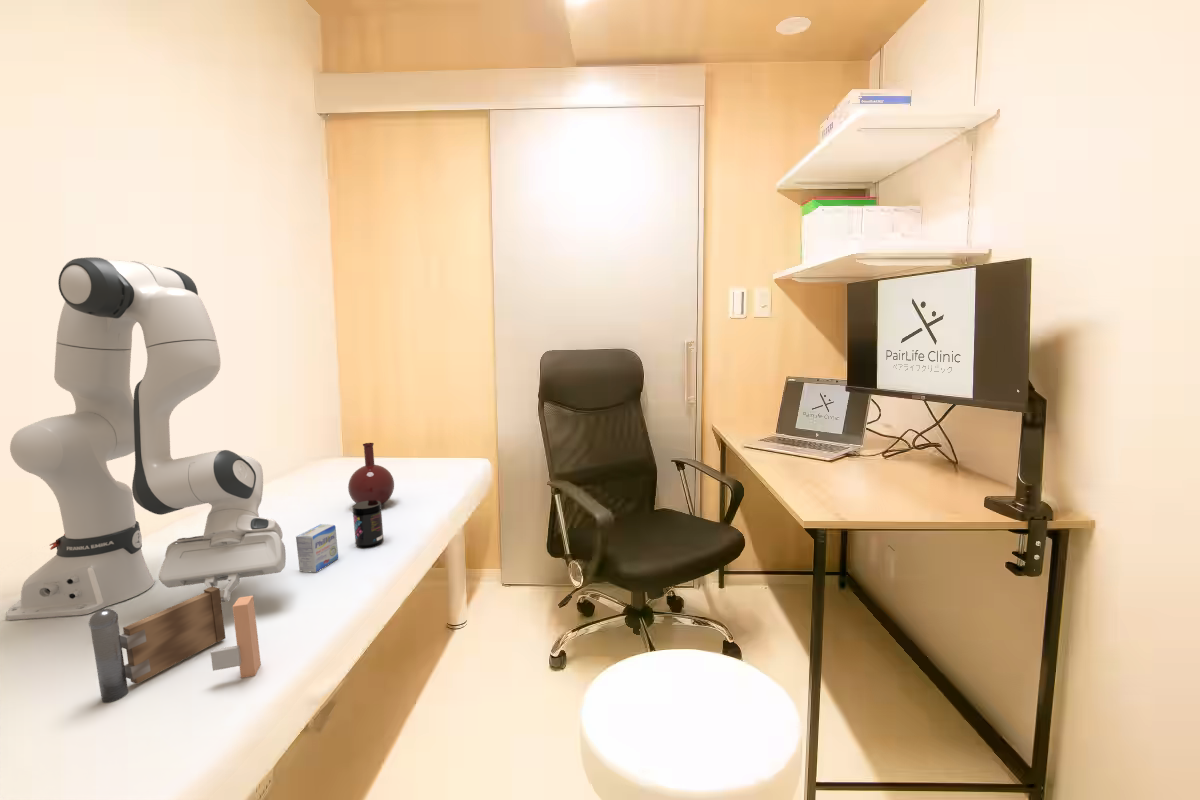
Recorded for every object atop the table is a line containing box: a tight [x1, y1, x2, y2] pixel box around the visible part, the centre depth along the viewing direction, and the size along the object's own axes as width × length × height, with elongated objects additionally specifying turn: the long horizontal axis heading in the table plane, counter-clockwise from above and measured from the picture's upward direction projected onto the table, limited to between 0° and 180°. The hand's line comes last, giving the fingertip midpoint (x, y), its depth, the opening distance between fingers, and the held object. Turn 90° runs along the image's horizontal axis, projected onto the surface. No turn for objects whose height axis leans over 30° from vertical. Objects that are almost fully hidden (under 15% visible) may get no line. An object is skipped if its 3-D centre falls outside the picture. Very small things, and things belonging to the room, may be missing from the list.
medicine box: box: [295, 523, 339, 573], centre depth 127 cm, size 8×4×9 cm, turn 168°
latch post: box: [210, 595, 262, 679], centre depth 86 cm, size 5×4×12 cm
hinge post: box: [88, 608, 129, 704], centre depth 81 cm, size 3×3×14 cm
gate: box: [120, 586, 226, 685], centre depth 90 cm, size 14×2×9 cm, turn 158°
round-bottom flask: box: [347, 442, 395, 506], centre depth 168 cm, size 13×13×20 cm
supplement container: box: [351, 500, 384, 549], centre depth 139 cm, size 7×7×10 cm
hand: (218, 601), depth 101 cm, fingers closed
